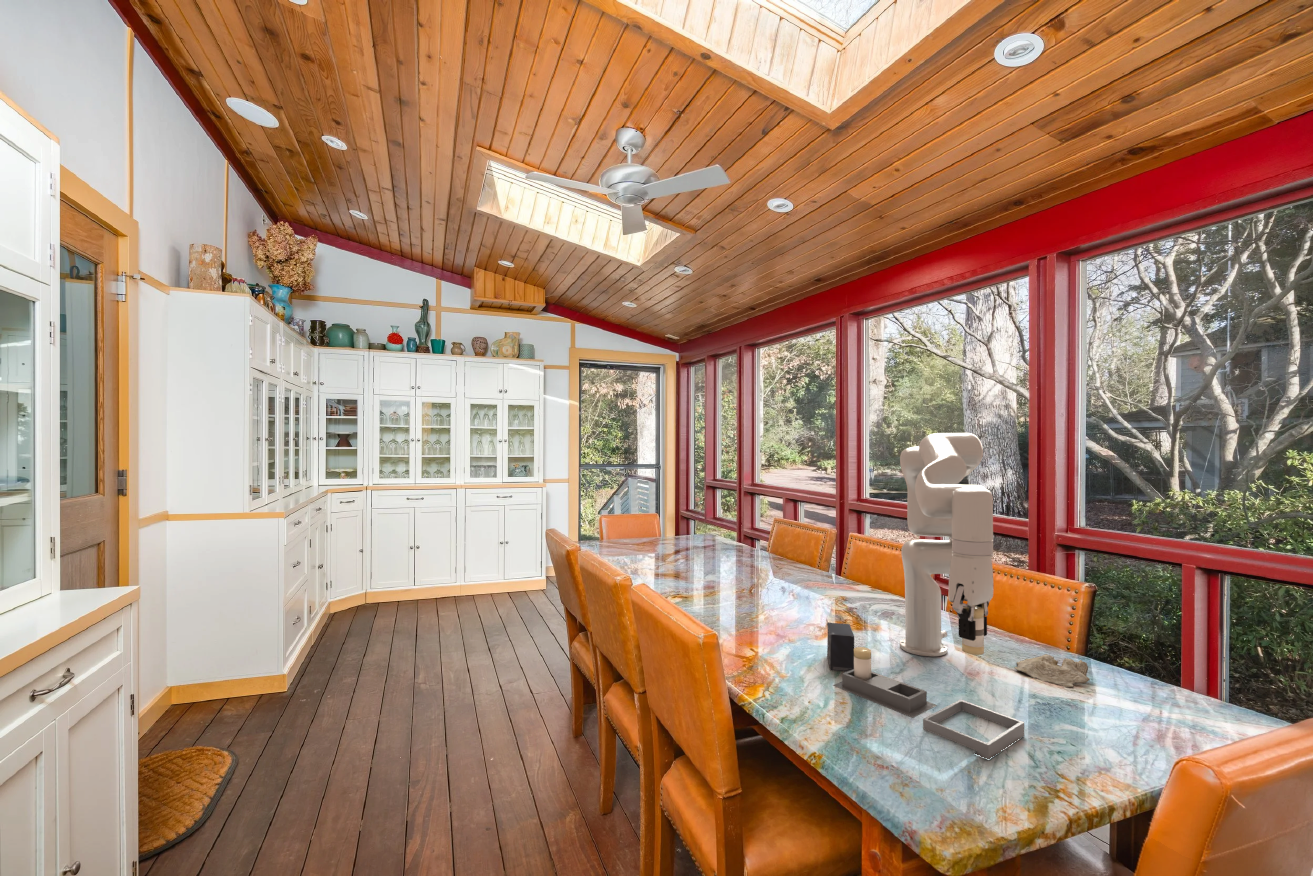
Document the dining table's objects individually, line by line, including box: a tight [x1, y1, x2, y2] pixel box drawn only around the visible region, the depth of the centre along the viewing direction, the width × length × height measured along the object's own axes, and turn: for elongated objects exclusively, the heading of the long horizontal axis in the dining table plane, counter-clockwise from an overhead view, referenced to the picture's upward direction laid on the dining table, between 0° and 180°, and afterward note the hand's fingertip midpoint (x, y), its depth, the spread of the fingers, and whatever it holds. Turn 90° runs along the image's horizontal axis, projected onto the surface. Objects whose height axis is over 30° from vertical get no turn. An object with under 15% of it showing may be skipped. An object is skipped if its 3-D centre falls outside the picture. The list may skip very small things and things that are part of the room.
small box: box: [826, 621, 855, 672], centre depth 160 cm, size 11×6×10 cm, turn 168°
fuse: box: [854, 646, 872, 681], centre depth 145 cm, size 4×4×9 cm
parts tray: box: [922, 699, 1025, 759], centre depth 124 cm, size 15×13×3 cm
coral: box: [1013, 653, 1090, 688], centre depth 155 cm, size 18×16×5 cm
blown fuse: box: [961, 606, 985, 656], centre depth 123 cm, size 4×4×9 cm
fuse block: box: [832, 669, 938, 719], centre depth 141 cm, size 10×21×4 cm, turn 36°
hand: (972, 635), depth 123 cm, fingers closed on blown fuse, 4 cm apart
